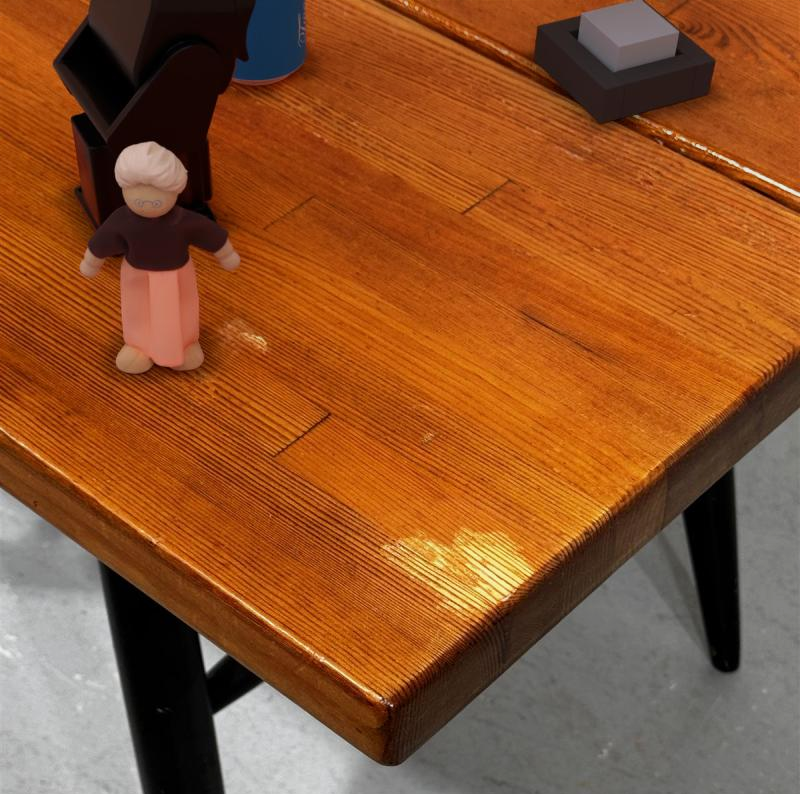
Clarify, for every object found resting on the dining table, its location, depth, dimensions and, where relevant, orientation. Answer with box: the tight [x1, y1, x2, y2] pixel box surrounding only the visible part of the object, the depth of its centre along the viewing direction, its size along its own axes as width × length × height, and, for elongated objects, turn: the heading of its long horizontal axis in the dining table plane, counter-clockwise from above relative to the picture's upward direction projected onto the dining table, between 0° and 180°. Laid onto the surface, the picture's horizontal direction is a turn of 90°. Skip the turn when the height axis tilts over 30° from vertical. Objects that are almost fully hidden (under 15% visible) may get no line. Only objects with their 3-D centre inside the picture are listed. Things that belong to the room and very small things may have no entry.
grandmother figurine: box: [79, 142, 241, 375], centre depth 71 cm, size 8×4×13 cm, turn 106°
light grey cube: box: [578, 0, 679, 73], centre depth 93 cm, size 4×4×4 cm
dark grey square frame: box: [533, 0, 717, 124], centre depth 94 cm, size 8×8×2 cm
